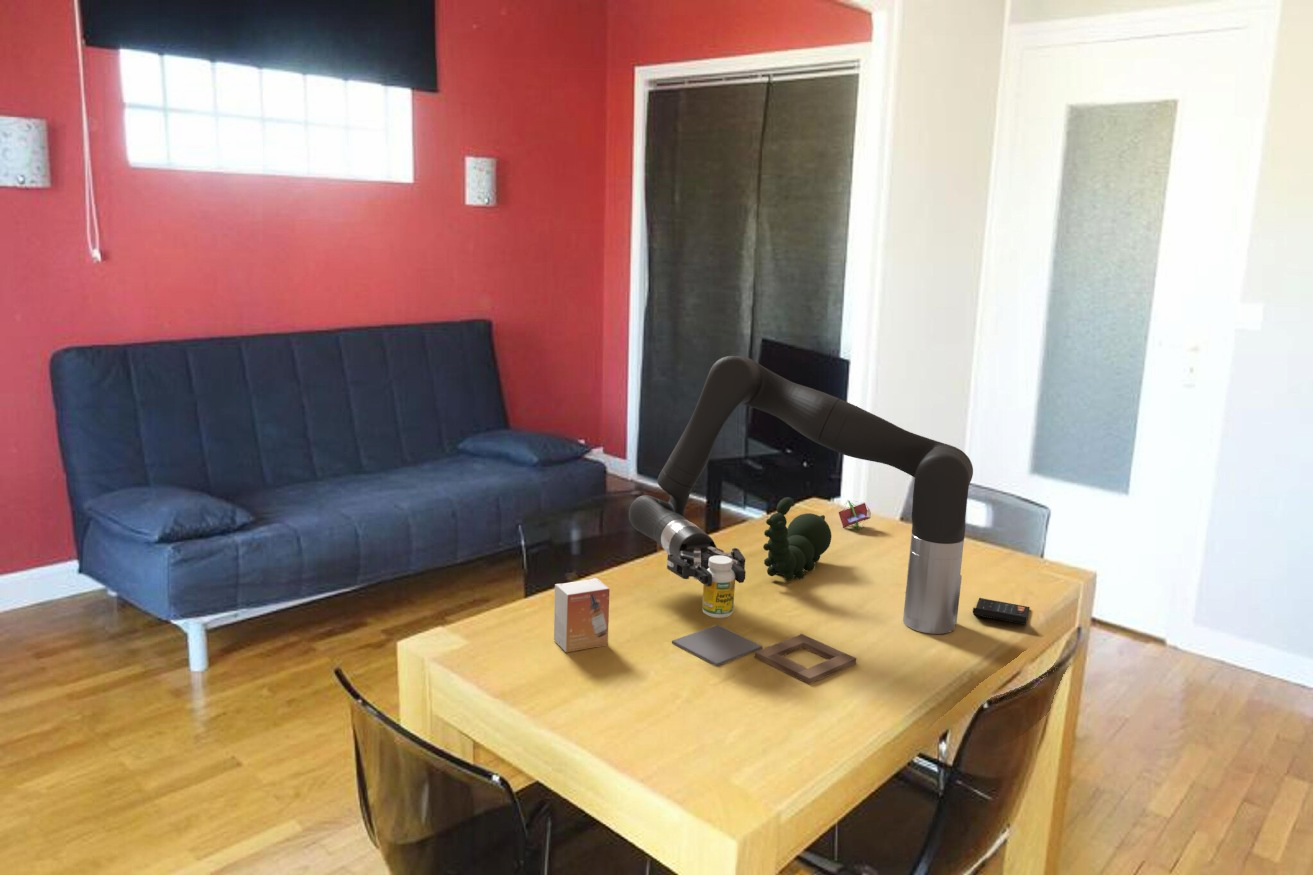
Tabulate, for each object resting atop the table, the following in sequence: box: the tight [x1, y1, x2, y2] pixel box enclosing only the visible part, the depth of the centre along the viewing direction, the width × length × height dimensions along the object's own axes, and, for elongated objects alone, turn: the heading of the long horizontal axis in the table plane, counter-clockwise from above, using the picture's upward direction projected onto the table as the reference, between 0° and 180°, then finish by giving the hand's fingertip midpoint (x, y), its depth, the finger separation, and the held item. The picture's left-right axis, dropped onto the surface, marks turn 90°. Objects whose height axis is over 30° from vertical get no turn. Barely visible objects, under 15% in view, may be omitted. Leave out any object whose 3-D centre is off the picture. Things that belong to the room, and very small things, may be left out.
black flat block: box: [972, 597, 1031, 625], centre depth 188 cm, size 9×12×3 cm
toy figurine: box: [762, 496, 832, 581], centre depth 206 cm, size 9×19×25 cm
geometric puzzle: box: [837, 499, 872, 531], centre depth 236 cm, size 7×7×8 cm
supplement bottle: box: [701, 556, 736, 619], centre depth 169 cm, size 5×5×10 cm
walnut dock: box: [754, 633, 857, 685], centre depth 167 cm, size 12×12×1 cm
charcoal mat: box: [671, 624, 763, 667], centre depth 171 cm, size 11×11×1 cm
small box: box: [553, 577, 610, 653], centre depth 169 cm, size 8×6×10 cm
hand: (726, 579), depth 166 cm, fingers closed on supplement bottle, 5 cm apart
